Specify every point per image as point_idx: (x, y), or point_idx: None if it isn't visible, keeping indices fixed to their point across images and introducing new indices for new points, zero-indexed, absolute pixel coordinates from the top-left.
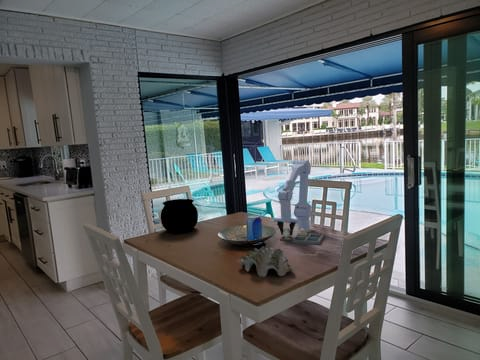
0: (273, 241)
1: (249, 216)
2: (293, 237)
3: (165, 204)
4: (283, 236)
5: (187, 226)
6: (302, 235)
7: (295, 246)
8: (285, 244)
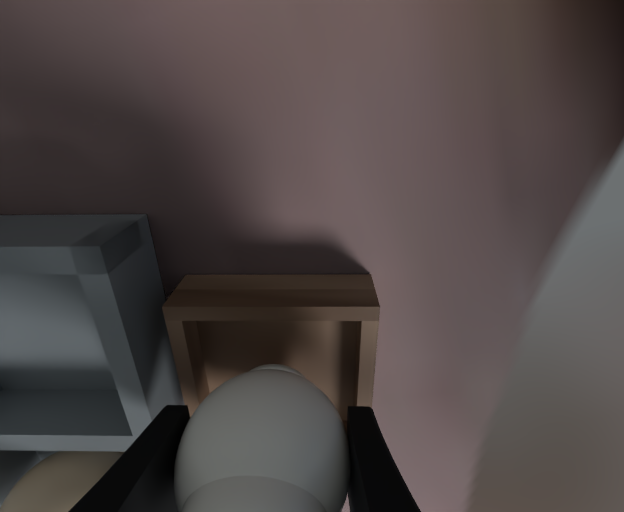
0: (486, 296)
1: None
2: None
3: None
4: None
5: None
6: (47, 474)
7: (25, 124)
8: (244, 193)
